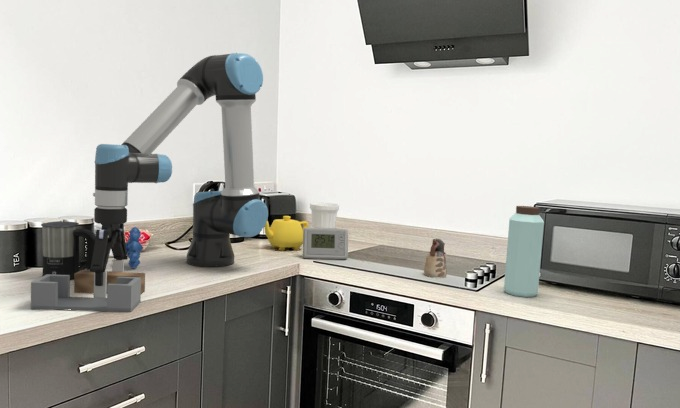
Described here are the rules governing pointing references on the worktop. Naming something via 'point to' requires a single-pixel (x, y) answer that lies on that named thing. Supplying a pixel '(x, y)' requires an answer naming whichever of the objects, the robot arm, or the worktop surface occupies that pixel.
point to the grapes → (134, 247)
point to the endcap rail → (57, 296)
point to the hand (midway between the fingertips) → (109, 291)
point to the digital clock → (325, 243)
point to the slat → (86, 280)
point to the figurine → (436, 260)
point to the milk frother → (65, 248)
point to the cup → (324, 215)
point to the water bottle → (524, 252)
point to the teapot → (285, 233)
